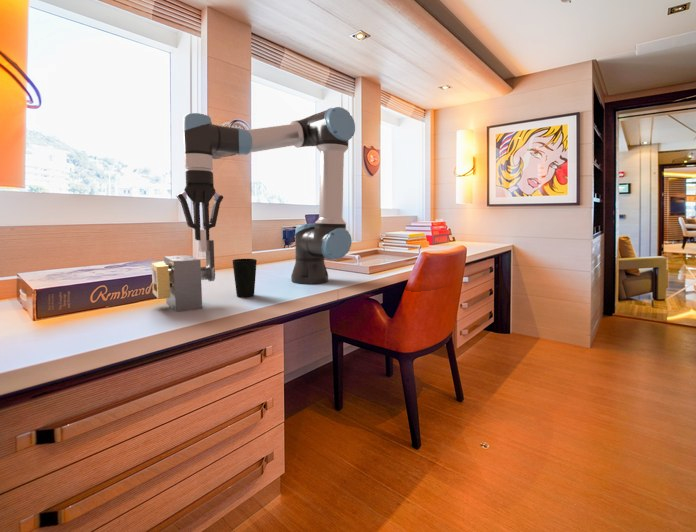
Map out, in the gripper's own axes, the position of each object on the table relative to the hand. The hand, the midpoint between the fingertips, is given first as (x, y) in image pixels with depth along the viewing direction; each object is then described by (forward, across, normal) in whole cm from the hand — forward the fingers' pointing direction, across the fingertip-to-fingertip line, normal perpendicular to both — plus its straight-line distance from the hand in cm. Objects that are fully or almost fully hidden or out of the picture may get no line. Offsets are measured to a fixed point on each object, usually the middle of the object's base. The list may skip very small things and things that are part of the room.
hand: (202, 251), depth 112 cm
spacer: (+12, +12, 0) cm, 17 cm away
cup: (+16, -14, -2) cm, 21 cm away
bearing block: (+16, +6, 0) cm, 17 cm away
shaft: (+9, +5, 0) cm, 11 cm away
